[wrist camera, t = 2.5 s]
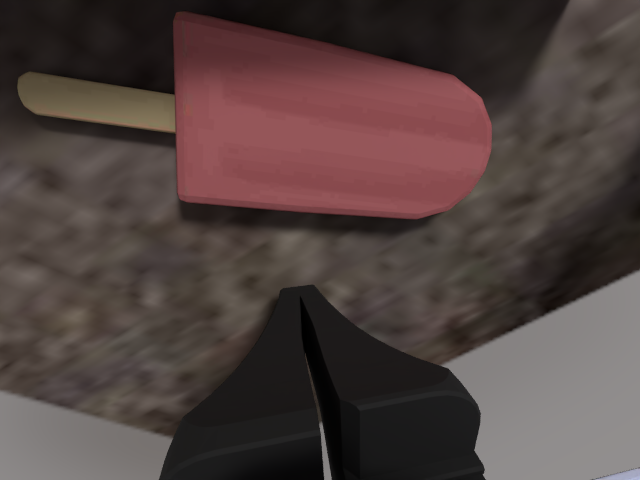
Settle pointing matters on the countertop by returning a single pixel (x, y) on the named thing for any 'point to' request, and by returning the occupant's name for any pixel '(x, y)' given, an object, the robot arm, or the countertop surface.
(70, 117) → the popsicle
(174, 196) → the countertop surface
